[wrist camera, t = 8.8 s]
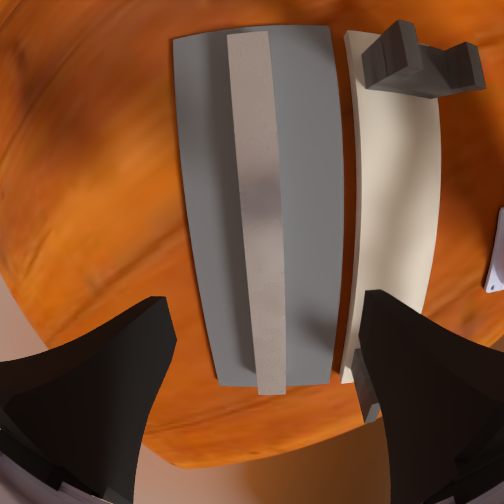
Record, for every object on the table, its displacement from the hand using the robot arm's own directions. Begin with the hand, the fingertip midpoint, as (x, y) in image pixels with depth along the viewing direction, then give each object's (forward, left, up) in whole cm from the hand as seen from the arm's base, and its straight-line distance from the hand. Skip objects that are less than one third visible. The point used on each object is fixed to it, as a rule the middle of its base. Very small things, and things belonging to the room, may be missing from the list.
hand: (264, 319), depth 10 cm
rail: (0, 0, -9) cm, 9 cm away
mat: (0, 0, -9) cm, 9 cm away
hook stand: (-9, 0, -9) cm, 13 cm away
